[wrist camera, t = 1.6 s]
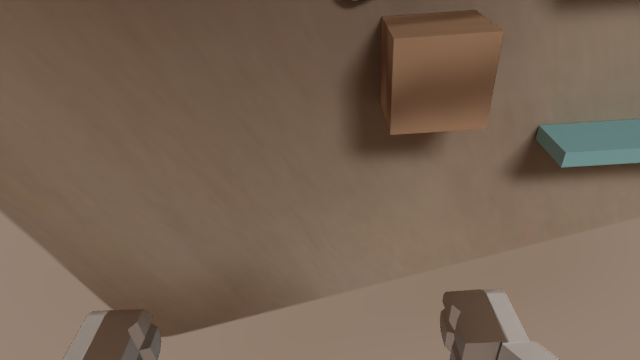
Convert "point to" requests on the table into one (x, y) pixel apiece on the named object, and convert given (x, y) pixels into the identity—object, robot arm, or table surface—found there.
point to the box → (592, 142)
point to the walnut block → (438, 71)
